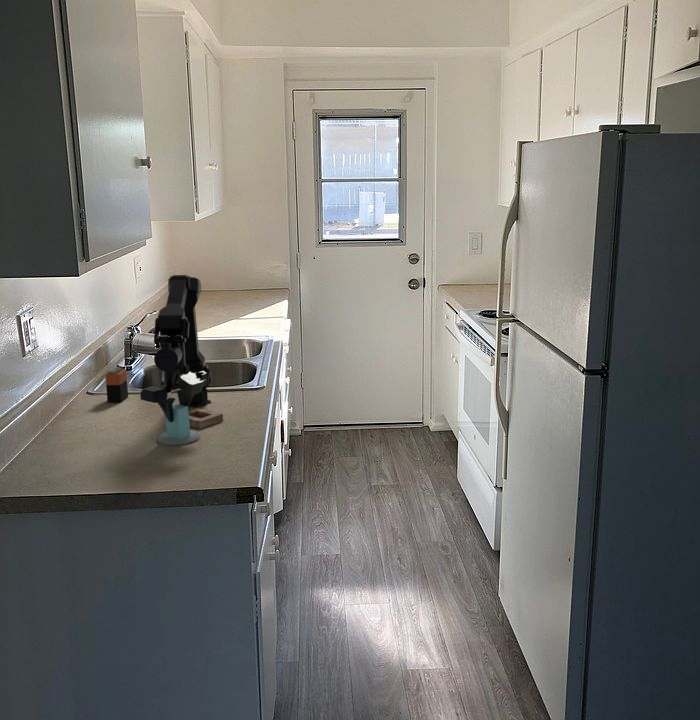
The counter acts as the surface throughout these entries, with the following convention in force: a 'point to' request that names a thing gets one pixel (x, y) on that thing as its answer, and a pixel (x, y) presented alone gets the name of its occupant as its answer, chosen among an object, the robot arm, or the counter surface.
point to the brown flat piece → (203, 417)
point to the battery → (116, 385)
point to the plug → (179, 422)
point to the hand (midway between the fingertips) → (177, 419)
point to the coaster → (174, 441)
